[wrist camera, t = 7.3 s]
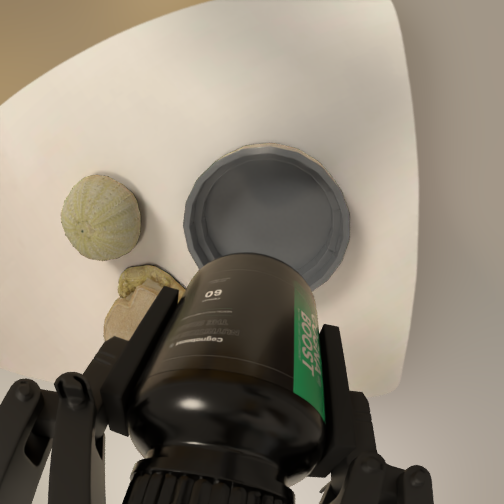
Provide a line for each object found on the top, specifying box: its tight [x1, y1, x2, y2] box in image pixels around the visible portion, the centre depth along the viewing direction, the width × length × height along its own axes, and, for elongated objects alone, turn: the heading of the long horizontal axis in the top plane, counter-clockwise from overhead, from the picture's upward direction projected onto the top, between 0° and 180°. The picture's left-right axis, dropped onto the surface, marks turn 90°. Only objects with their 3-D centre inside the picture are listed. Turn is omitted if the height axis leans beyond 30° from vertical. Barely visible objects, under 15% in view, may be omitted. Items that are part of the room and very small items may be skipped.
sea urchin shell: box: [61, 175, 141, 261], centre depth 29 cm, size 9×8×8 cm
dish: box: [183, 143, 350, 291], centre depth 28 cm, size 14×14×4 cm
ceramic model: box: [104, 265, 185, 341], centre depth 31 cm, size 14×11×10 cm
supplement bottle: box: [122, 252, 326, 504], centre depth 11 cm, size 7×7×12 cm
